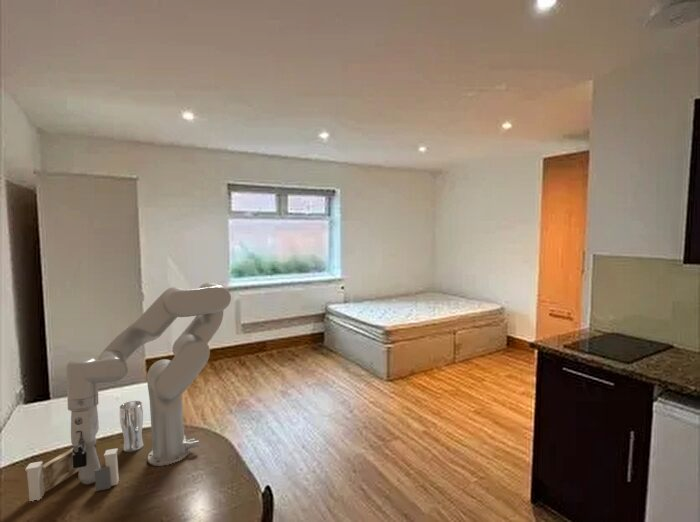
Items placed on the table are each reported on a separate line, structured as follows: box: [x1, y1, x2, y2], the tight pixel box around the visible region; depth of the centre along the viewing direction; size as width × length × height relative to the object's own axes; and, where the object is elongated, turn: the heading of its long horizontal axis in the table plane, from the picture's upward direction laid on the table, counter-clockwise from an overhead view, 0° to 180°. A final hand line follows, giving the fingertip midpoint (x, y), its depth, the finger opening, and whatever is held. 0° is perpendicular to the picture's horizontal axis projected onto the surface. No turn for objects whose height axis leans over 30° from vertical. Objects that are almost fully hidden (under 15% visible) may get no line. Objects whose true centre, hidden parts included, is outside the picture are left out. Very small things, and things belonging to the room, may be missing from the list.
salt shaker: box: [77, 436, 102, 485], centre depth 121 cm, size 6×6×13 cm
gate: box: [42, 447, 79, 492], centre depth 122 cm, size 15×2×7 cm, turn 164°
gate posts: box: [25, 448, 120, 502], centre depth 116 cm, size 22×4×10 cm, turn 109°
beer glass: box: [119, 400, 144, 453], centre depth 139 cm, size 7×7×15 cm
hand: (84, 457), depth 120 cm, fingers open, 9 cm apart
